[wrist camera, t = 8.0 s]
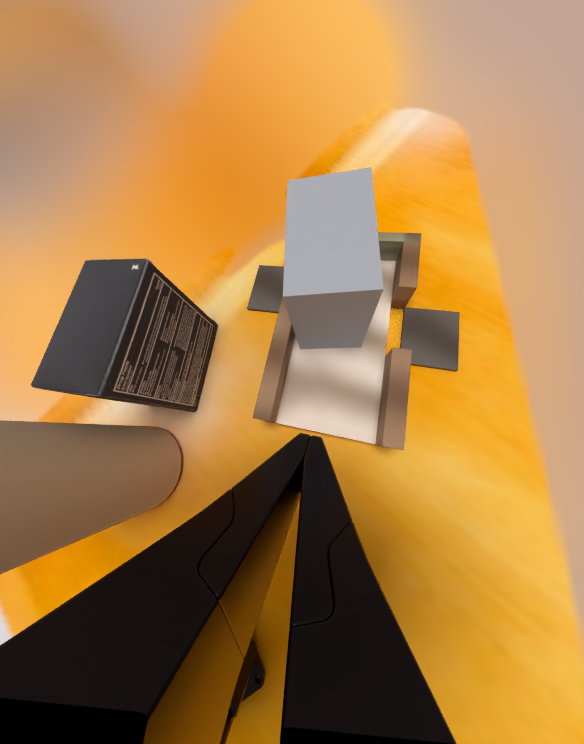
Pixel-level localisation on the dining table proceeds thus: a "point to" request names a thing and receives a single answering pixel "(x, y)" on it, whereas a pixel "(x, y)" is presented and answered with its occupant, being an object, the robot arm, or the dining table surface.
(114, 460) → the travel mug
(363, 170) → the block
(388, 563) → the dining table surface
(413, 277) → the brown piece
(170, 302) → the small box
